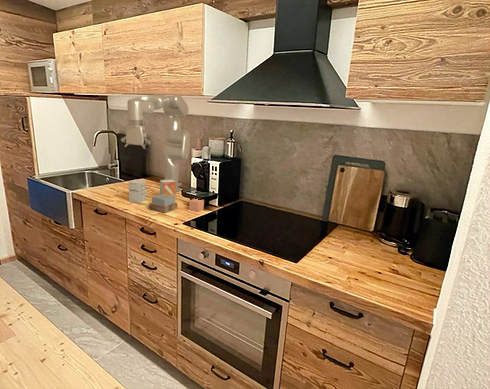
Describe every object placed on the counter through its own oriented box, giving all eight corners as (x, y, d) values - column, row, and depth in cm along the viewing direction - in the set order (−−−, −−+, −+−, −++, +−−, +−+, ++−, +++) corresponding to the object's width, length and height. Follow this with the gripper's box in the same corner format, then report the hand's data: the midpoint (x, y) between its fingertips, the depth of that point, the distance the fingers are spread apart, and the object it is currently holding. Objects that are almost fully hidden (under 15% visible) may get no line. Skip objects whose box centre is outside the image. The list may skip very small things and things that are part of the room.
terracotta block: (195, 207, 179) (195, 198, 177) (203, 209, 177) (203, 200, 175) (189, 210, 174) (189, 200, 172) (198, 212, 171) (198, 202, 170)
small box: (163, 203, 183) (163, 182, 179) (159, 200, 188) (159, 180, 184) (175, 201, 187) (175, 181, 184) (172, 198, 192) (172, 179, 189)
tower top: (162, 200, 177) (162, 193, 176) (174, 202, 173) (174, 196, 172) (152, 203, 169) (151, 196, 168) (164, 206, 165) (164, 199, 164)
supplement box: (128, 201, 180) (128, 181, 177) (135, 198, 187) (135, 179, 184) (139, 203, 179) (139, 183, 176) (146, 200, 186) (146, 180, 183)
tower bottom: (162, 205, 179) (162, 199, 178) (177, 209, 175) (177, 202, 174) (149, 210, 170) (149, 203, 168) (164, 214, 165) (164, 207, 164)
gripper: (153, 124, 163) (154, 155, 167) (124, 122, 165) (125, 152, 170) (147, 125, 156) (147, 157, 160) (116, 122, 158) (118, 154, 163)
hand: (136, 155), depth 165 cm, fingers open, 9 cm apart
